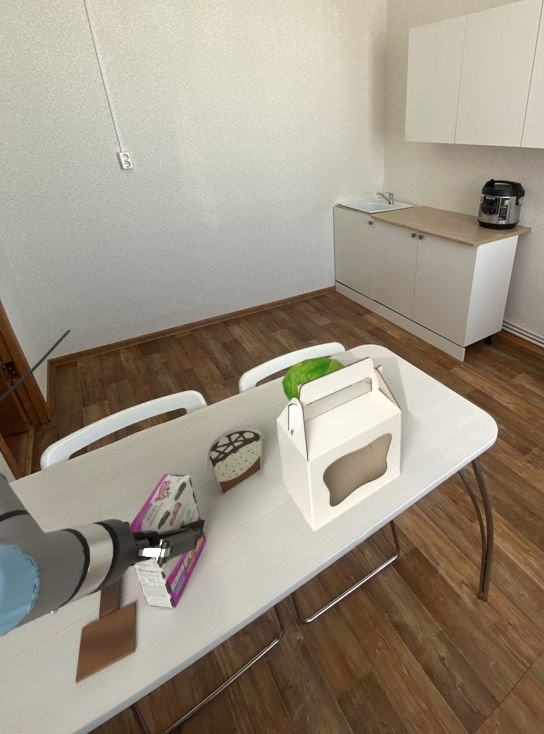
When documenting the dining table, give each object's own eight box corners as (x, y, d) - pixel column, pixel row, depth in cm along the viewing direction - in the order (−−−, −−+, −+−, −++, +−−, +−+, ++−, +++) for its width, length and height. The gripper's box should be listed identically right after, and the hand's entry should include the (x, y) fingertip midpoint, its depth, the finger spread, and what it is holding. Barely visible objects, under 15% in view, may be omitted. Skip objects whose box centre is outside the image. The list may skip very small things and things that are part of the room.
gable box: (365, 439, 94) (364, 339, 84) (401, 475, 84) (404, 365, 74) (282, 485, 82) (269, 374, 72) (312, 533, 72) (302, 411, 62)
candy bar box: (181, 539, 71) (164, 471, 65) (207, 540, 71) (192, 473, 65) (144, 608, 61) (120, 535, 55) (174, 610, 60) (153, 537, 55)
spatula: (89, 574, 66) (87, 569, 65) (135, 554, 69) (134, 549, 68) (76, 683, 52) (73, 678, 52) (134, 652, 55) (132, 647, 55)
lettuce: (362, 386, 113) (330, 340, 115) (364, 398, 93) (325, 341, 95) (314, 421, 112) (283, 373, 113) (306, 440, 92) (268, 382, 94)
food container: (253, 451, 91) (248, 417, 87) (267, 466, 87) (263, 431, 83) (202, 482, 83) (195, 446, 79) (215, 500, 79) (208, 463, 75)
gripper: (3, 588, 46) (127, 547, 67) (148, 608, 44) (230, 558, 65) (30, 515, 49) (140, 497, 70) (167, 530, 47) (239, 507, 68)
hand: (183, 527), depth 67 cm, fingers open, 6 cm apart
